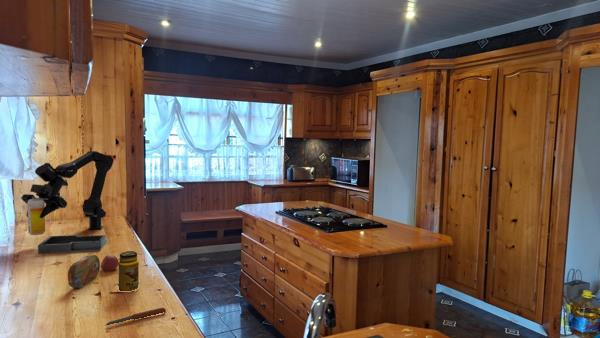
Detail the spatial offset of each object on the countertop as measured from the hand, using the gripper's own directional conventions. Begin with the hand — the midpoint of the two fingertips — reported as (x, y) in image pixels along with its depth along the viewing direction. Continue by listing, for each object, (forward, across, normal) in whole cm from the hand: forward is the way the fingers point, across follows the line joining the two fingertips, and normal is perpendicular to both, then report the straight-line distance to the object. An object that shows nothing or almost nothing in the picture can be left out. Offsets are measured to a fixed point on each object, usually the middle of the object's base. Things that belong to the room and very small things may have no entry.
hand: (33, 217), depth 165 cm
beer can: (+5, 0, +6) cm, 8 cm away
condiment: (+32, +63, -13) cm, 72 cm away
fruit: (+21, +48, -2) cm, 52 cm away
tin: (+31, +47, -12) cm, 57 cm away
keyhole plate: (+6, +16, +12) cm, 21 cm away
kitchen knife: (+45, +78, -26) cm, 94 cm away
